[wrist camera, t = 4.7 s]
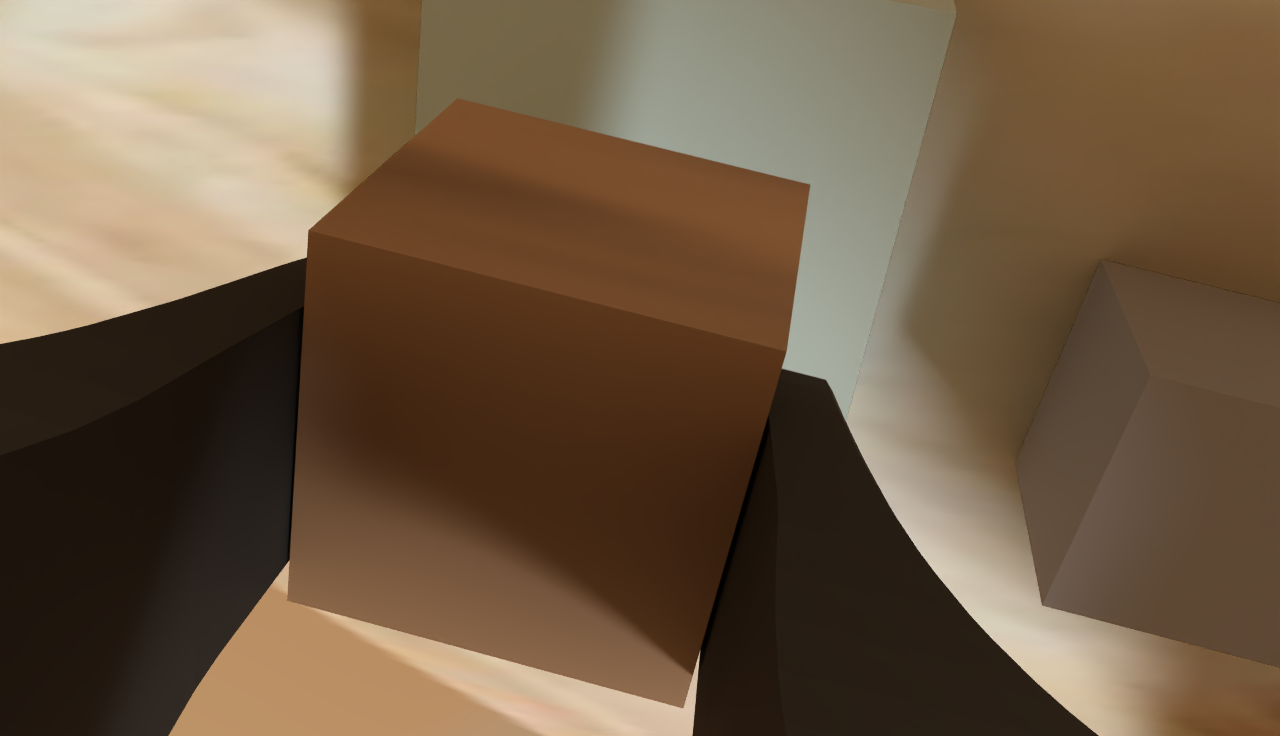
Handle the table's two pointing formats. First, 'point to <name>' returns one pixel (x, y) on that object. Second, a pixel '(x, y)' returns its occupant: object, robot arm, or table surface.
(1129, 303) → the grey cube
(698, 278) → the walnut cube
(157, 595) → the robot arm
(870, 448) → the table surface
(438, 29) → the base block
